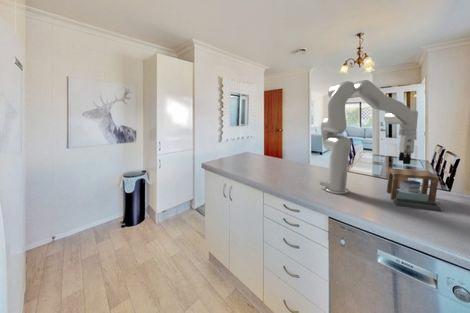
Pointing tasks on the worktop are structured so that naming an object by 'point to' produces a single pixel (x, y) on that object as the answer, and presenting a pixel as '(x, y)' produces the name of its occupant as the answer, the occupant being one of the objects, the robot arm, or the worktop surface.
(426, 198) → the grey-green low block
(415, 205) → the dark grey flat slab
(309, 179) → the worktop surface
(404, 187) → the medicine box
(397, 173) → the tunnel
